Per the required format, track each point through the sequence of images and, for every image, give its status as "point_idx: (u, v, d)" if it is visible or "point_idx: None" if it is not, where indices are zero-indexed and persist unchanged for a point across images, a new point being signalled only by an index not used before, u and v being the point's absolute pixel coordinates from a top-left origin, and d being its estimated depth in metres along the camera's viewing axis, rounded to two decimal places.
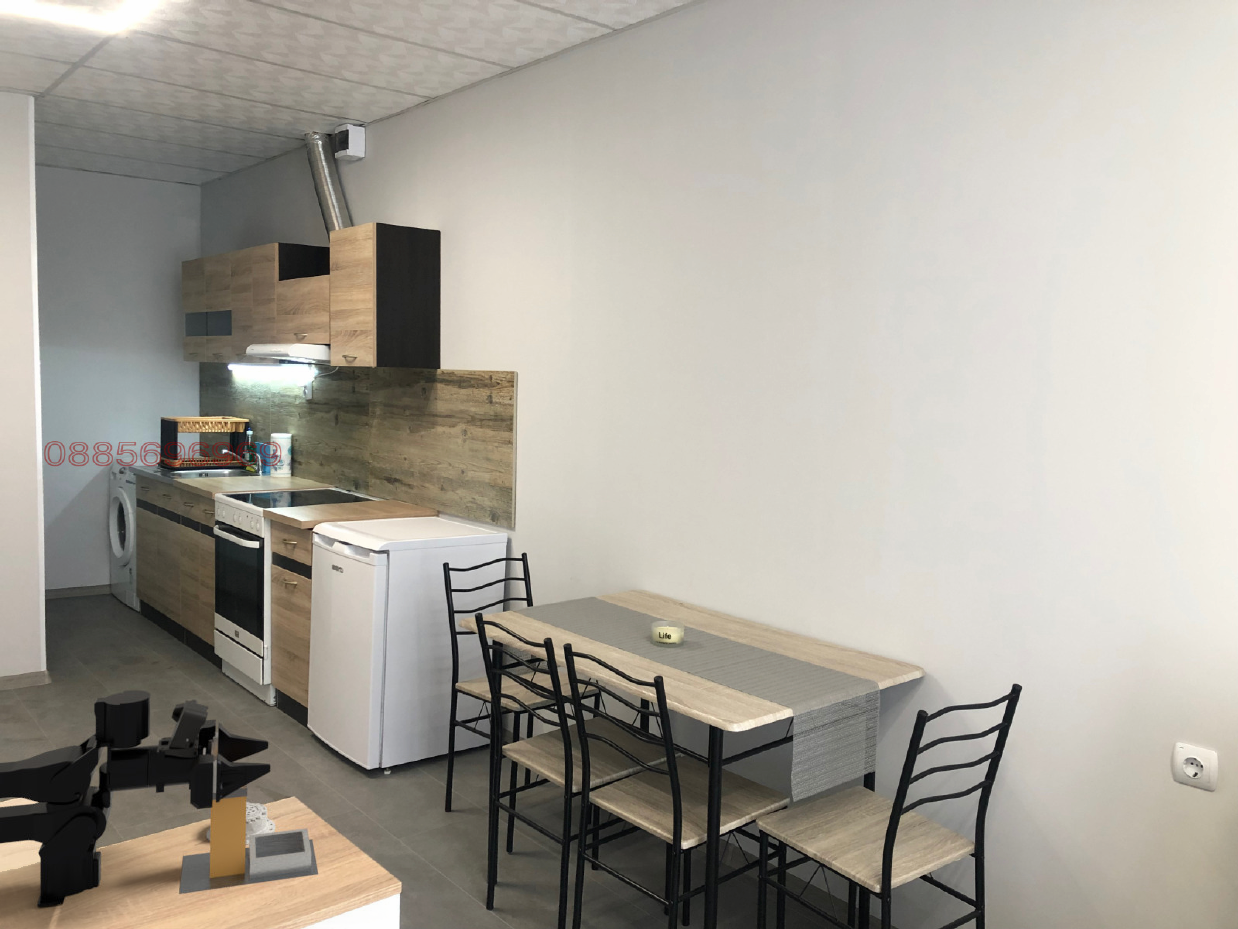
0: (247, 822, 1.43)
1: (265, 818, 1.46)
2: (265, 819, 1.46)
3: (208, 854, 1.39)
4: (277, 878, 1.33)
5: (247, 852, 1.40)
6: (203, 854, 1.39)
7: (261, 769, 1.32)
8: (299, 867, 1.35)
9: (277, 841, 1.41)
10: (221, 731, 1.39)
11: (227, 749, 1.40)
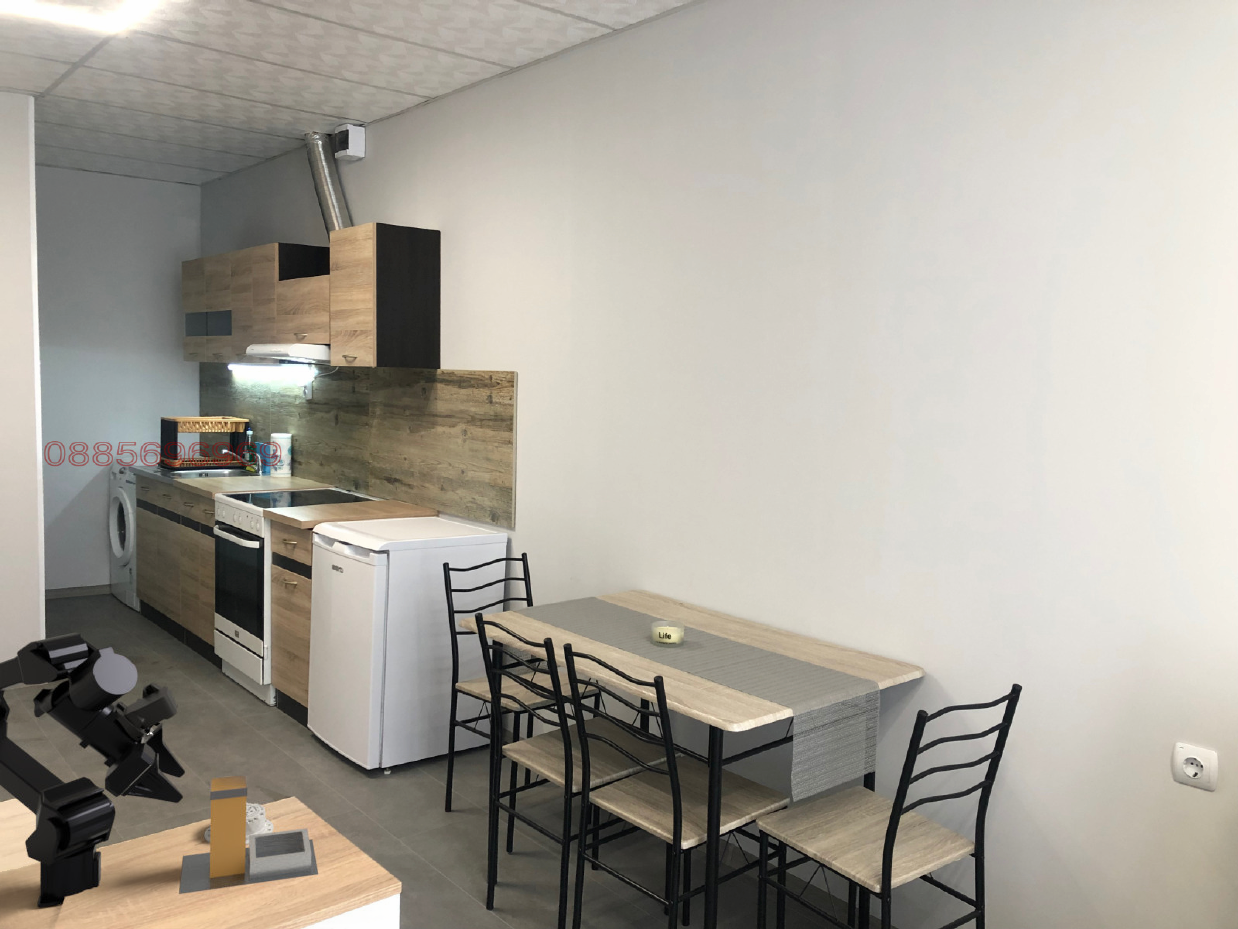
0: None
1: (263, 818, 1.46)
2: (263, 819, 1.46)
3: (208, 854, 1.39)
4: (277, 878, 1.33)
5: (247, 852, 1.40)
6: (203, 854, 1.39)
7: (174, 795, 1.27)
8: (299, 867, 1.35)
9: (277, 841, 1.41)
10: (161, 732, 1.35)
11: None
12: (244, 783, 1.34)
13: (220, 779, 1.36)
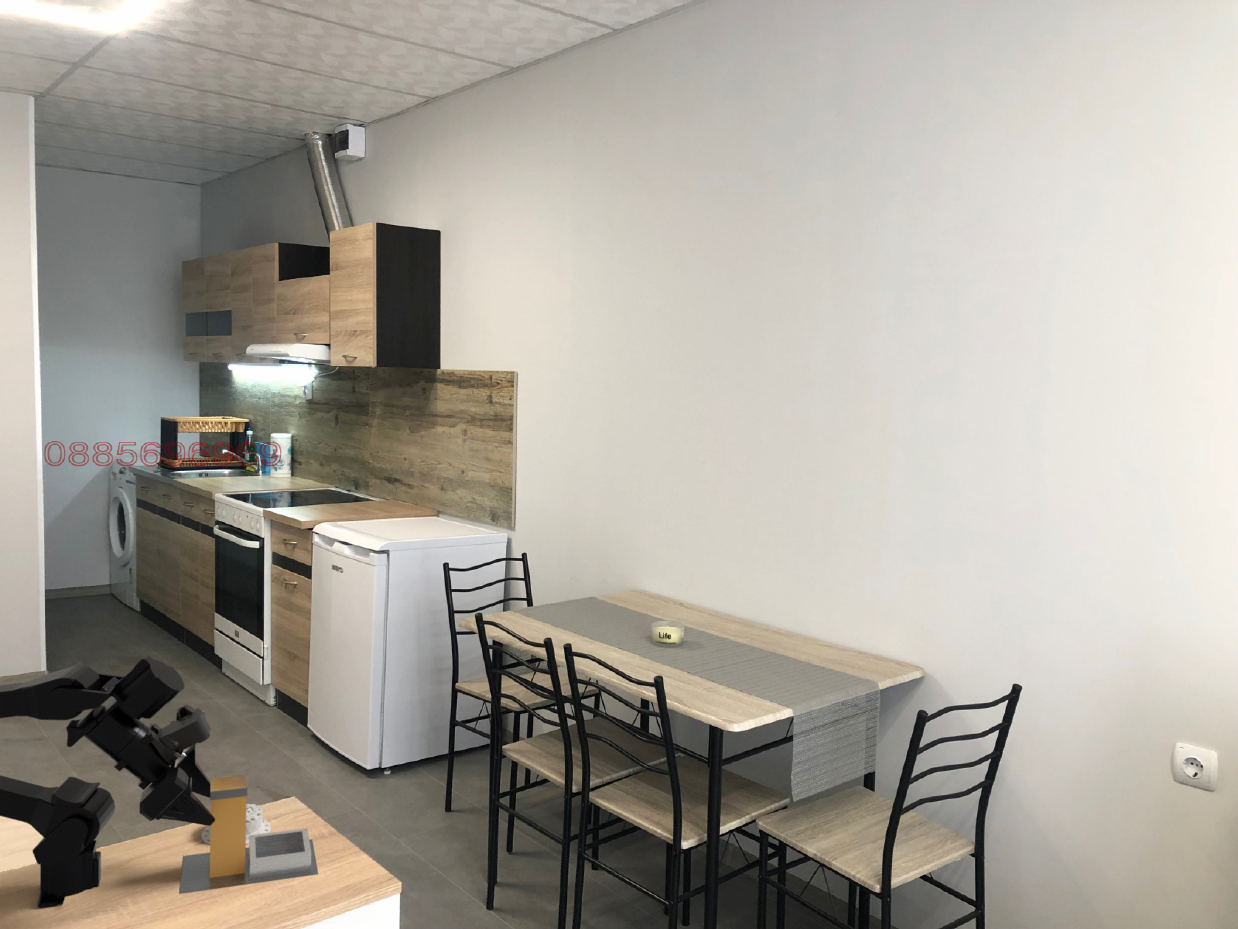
0: None
1: (260, 819, 1.46)
2: (260, 820, 1.46)
3: (208, 854, 1.39)
4: (277, 878, 1.33)
5: (247, 852, 1.40)
6: (203, 854, 1.39)
7: (206, 818, 1.29)
8: (299, 867, 1.35)
9: (277, 841, 1.41)
10: (194, 753, 1.37)
11: (183, 772, 1.36)
12: (244, 783, 1.34)
13: (220, 779, 1.36)
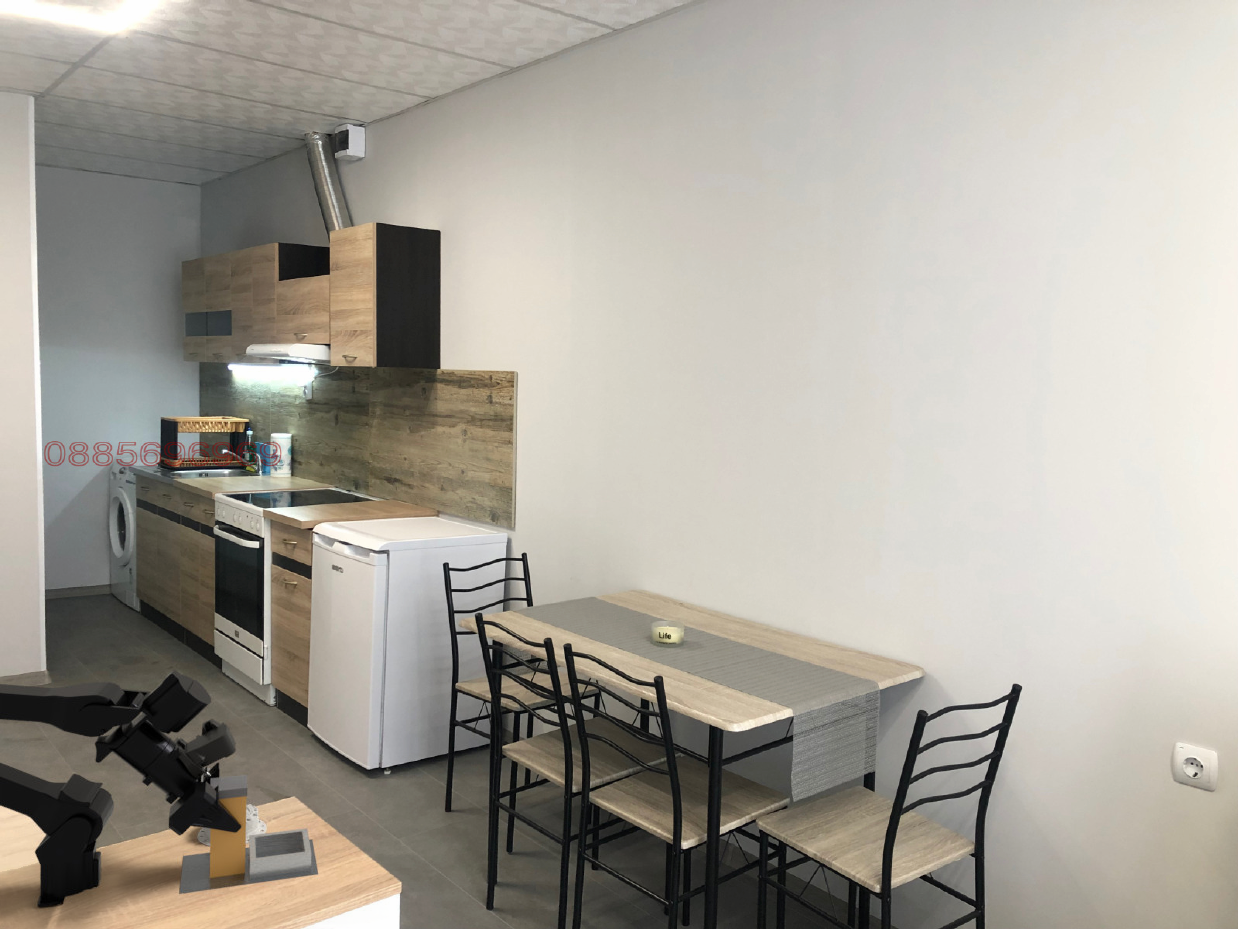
0: None
1: (256, 819, 1.46)
2: (256, 820, 1.46)
3: (208, 854, 1.39)
4: (277, 878, 1.33)
5: (247, 852, 1.40)
6: (203, 854, 1.39)
7: (233, 825, 1.32)
8: (299, 867, 1.35)
9: (277, 841, 1.41)
10: (218, 773, 1.37)
11: None
12: (244, 783, 1.34)
13: (220, 779, 1.36)
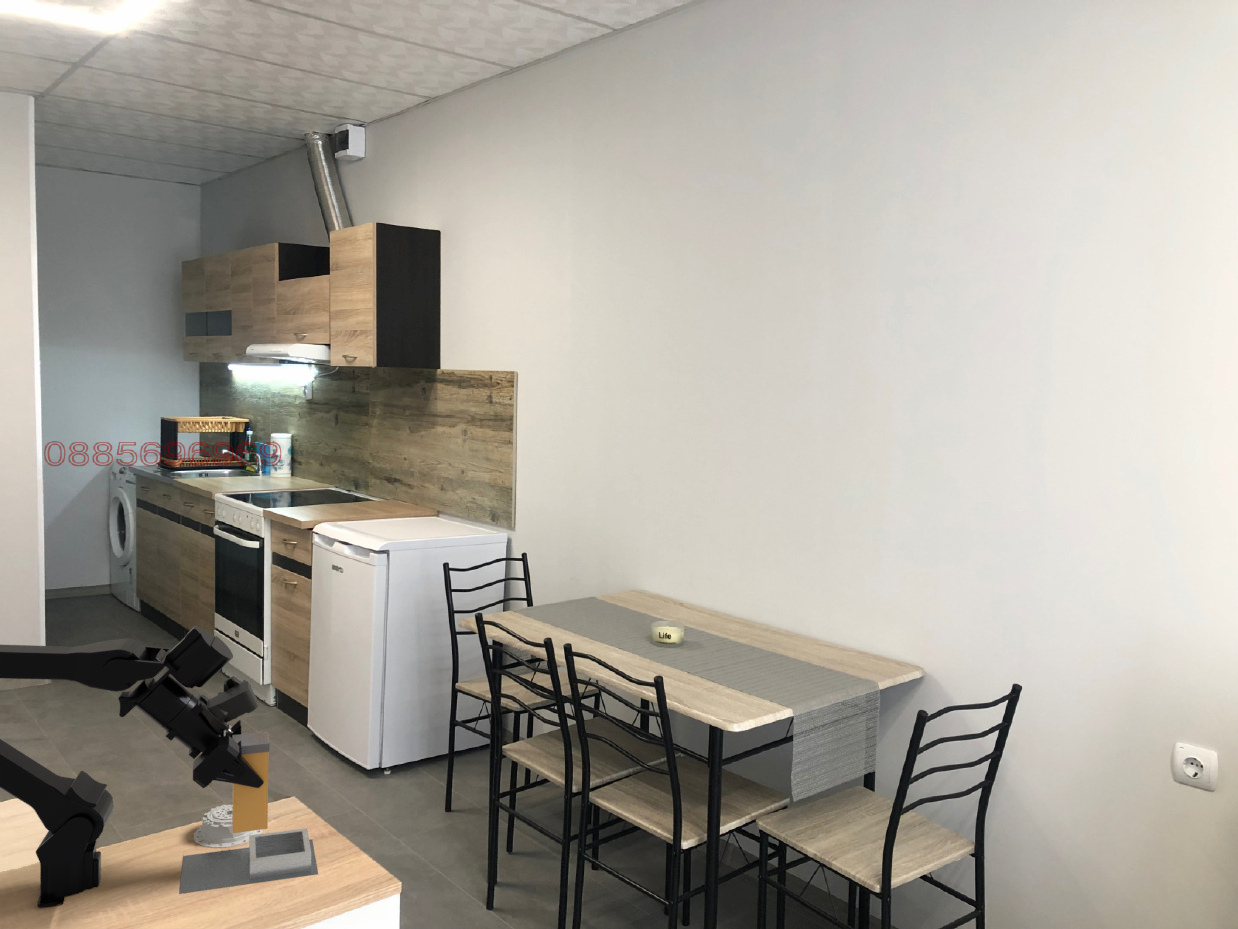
0: None
1: None
2: None
3: (208, 854, 1.39)
4: (277, 878, 1.33)
5: (247, 852, 1.40)
6: (203, 854, 1.39)
7: (255, 781, 1.33)
8: (299, 867, 1.35)
9: (277, 841, 1.41)
10: (239, 730, 1.37)
11: None
12: (266, 740, 1.35)
13: (242, 735, 1.36)
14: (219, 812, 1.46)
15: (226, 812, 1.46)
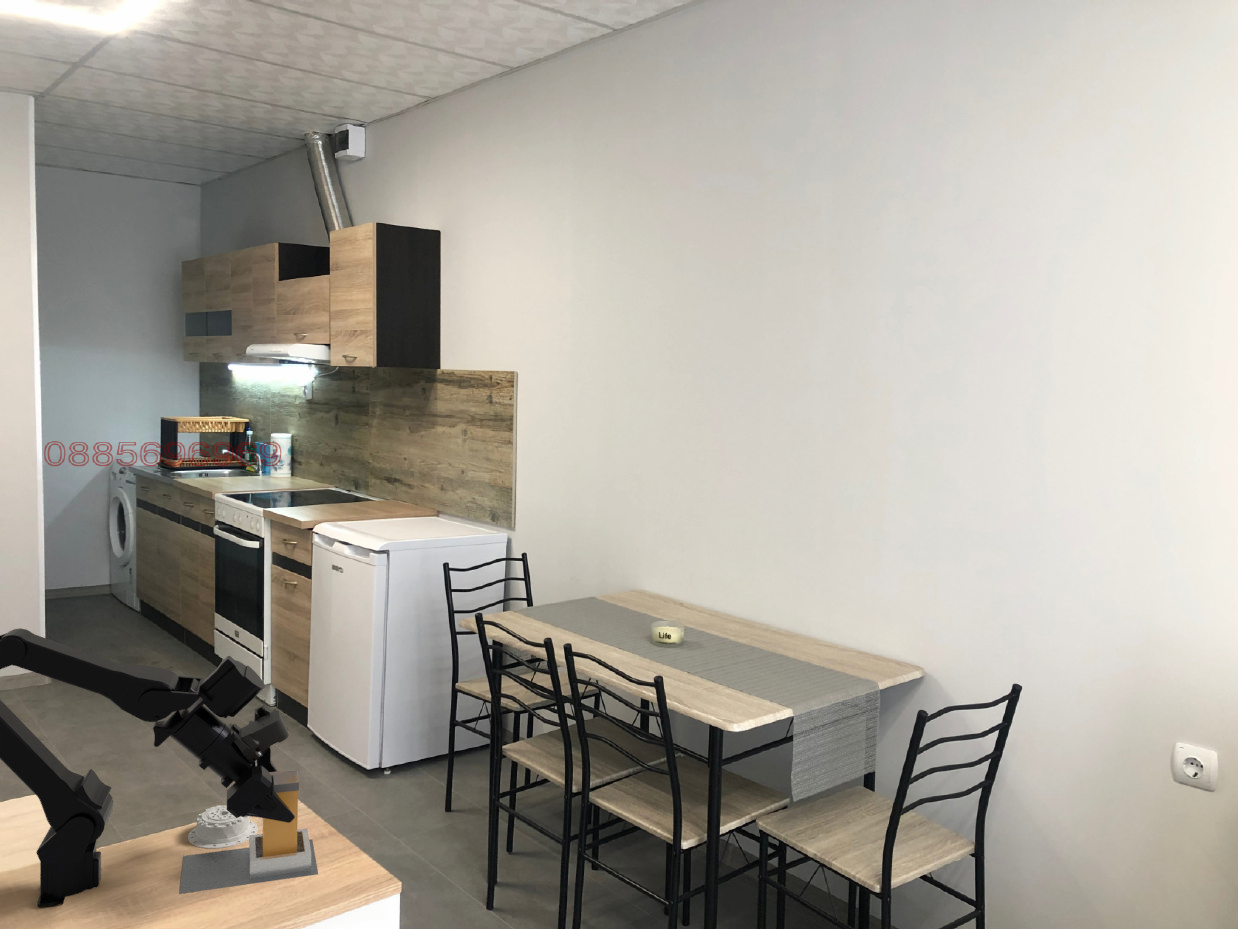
0: (228, 824, 1.42)
1: (247, 821, 1.45)
2: (247, 822, 1.45)
3: (208, 854, 1.39)
4: (277, 878, 1.33)
5: (247, 852, 1.40)
6: (203, 854, 1.39)
7: (287, 815, 1.33)
8: (299, 867, 1.35)
9: None
10: (269, 753, 1.41)
11: None
12: (295, 778, 1.37)
13: (272, 773, 1.38)
14: (214, 813, 1.45)
15: (221, 813, 1.46)
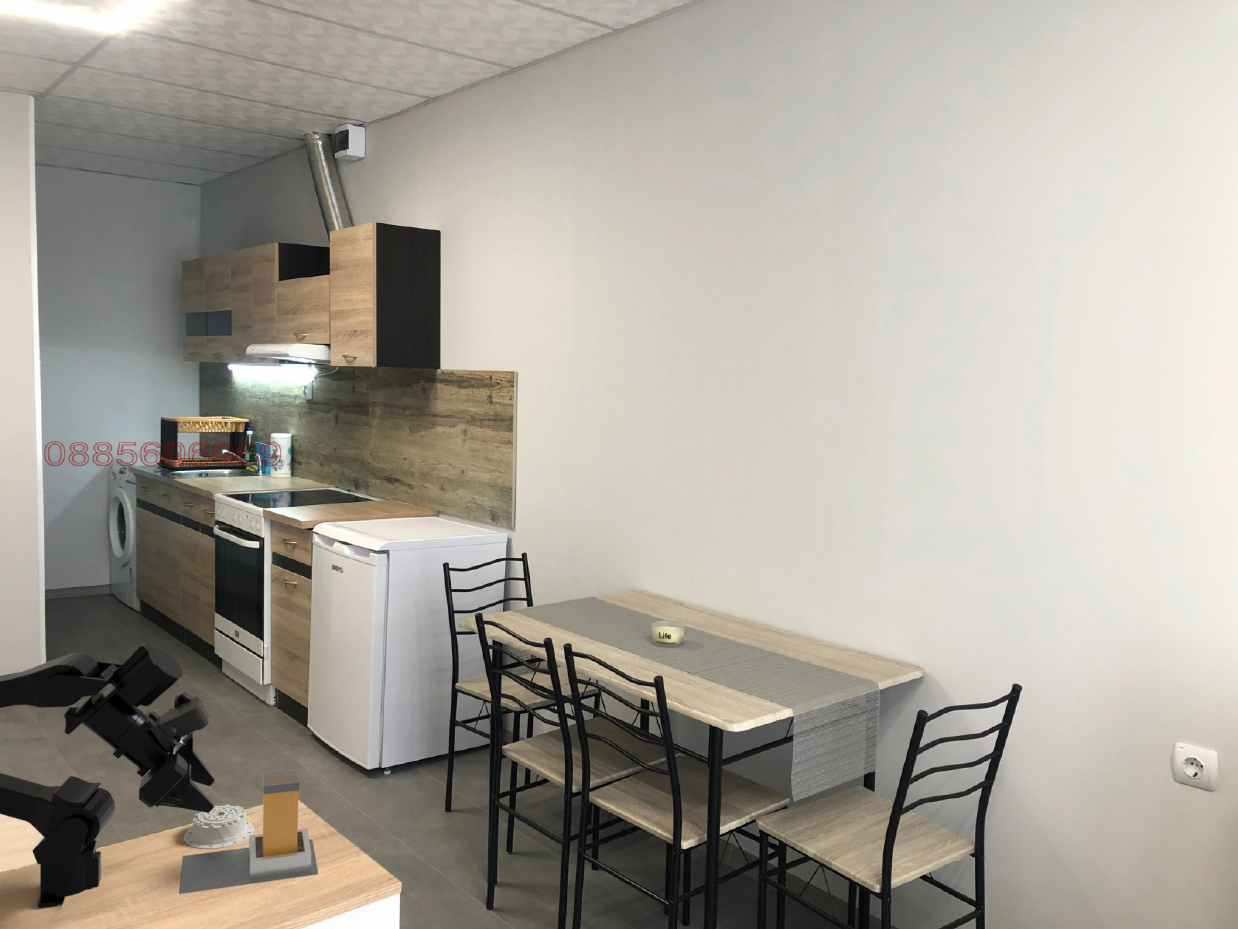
0: (224, 825, 1.42)
1: (243, 821, 1.45)
2: (243, 822, 1.45)
3: (208, 854, 1.39)
4: (277, 878, 1.33)
5: (247, 852, 1.40)
6: (203, 854, 1.39)
7: (205, 805, 1.29)
8: (299, 867, 1.35)
9: None
10: (191, 741, 1.37)
11: None
12: (296, 778, 1.37)
13: (272, 773, 1.38)
14: (210, 813, 1.45)
15: (217, 813, 1.46)
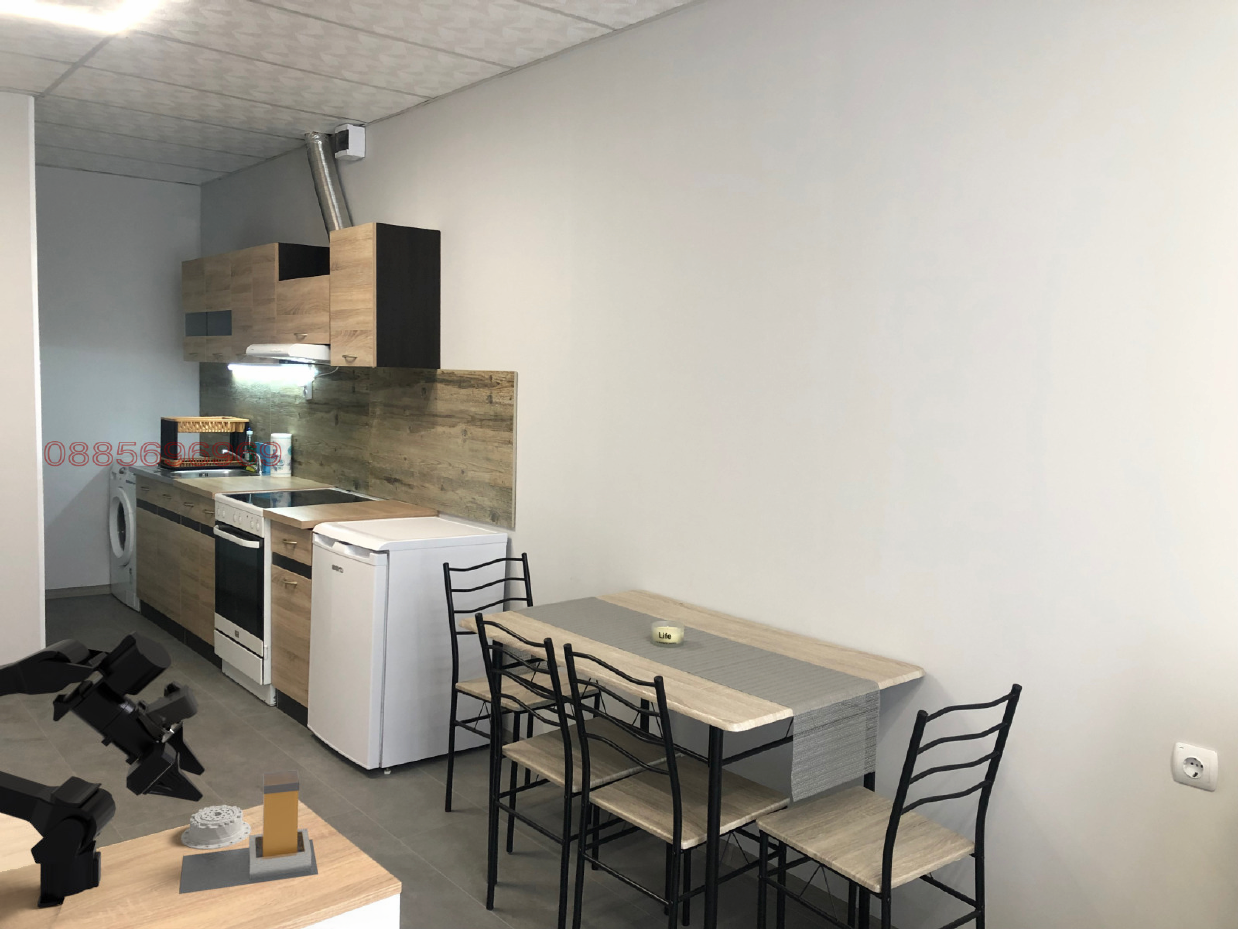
0: (220, 825, 1.42)
1: (240, 821, 1.45)
2: (240, 822, 1.45)
3: (208, 854, 1.39)
4: (277, 878, 1.33)
5: (247, 852, 1.40)
6: (203, 854, 1.39)
7: (194, 794, 1.28)
8: (299, 867, 1.35)
9: None
10: (181, 730, 1.36)
11: None
12: (296, 778, 1.37)
13: (272, 773, 1.38)
14: (207, 813, 1.45)
15: (214, 813, 1.46)
